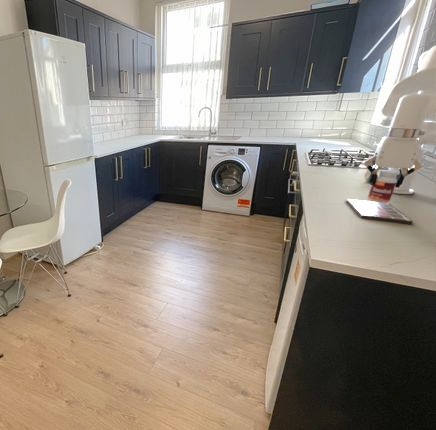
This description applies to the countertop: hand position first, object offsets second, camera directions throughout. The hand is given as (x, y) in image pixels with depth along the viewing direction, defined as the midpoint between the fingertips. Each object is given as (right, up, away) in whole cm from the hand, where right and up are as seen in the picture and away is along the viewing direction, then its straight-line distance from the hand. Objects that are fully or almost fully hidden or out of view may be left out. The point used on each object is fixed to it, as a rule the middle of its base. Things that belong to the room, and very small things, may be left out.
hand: (383, 184), depth 101 cm
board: (+3, -10, +7) cm, 12 cm away
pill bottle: (0, -6, +2) cm, 6 cm away
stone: (+39, +6, +46) cm, 60 cm away
